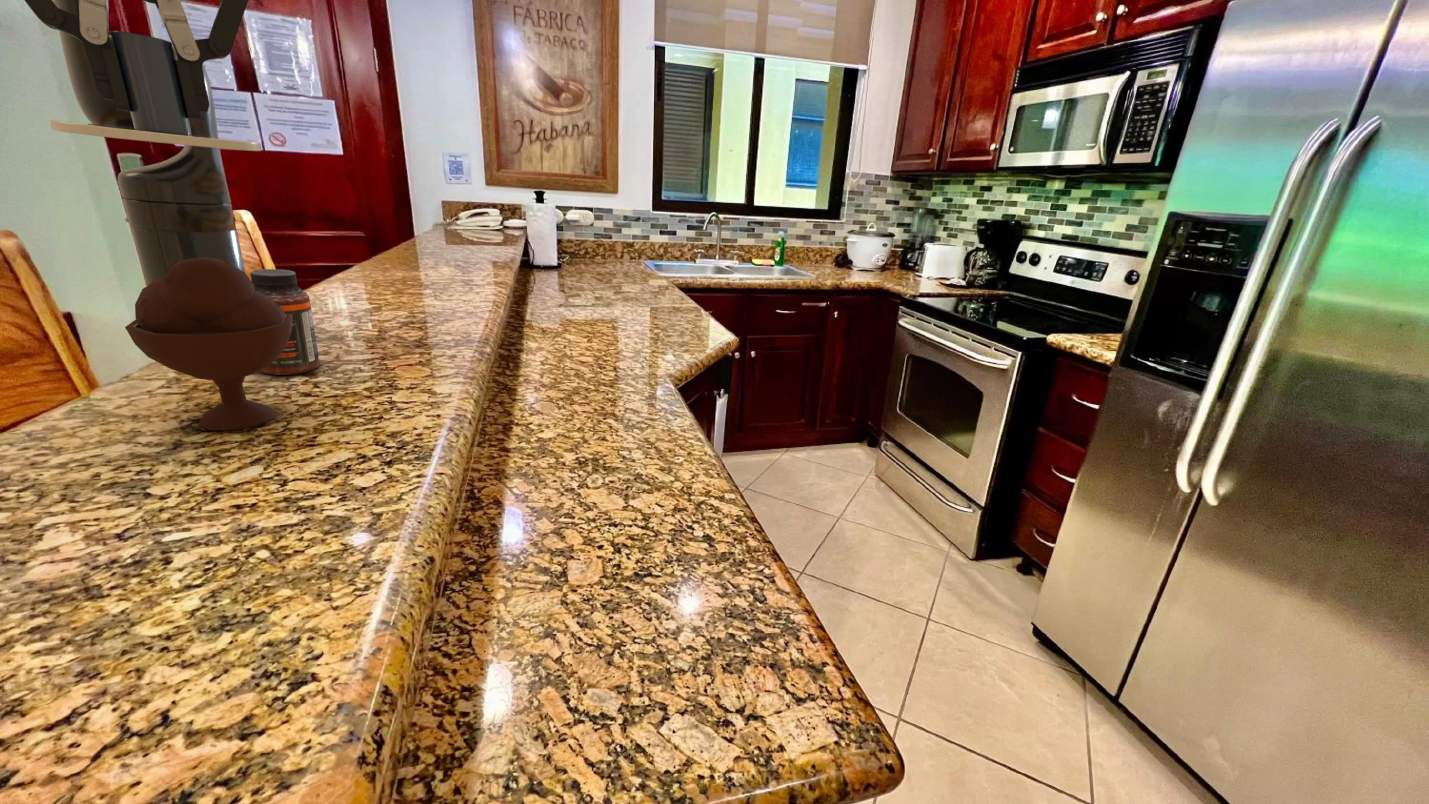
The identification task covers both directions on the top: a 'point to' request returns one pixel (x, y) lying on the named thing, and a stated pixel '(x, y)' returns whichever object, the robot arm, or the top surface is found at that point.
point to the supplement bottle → (302, 338)
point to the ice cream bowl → (212, 333)
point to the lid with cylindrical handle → (151, 98)
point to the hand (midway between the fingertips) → (159, 113)
